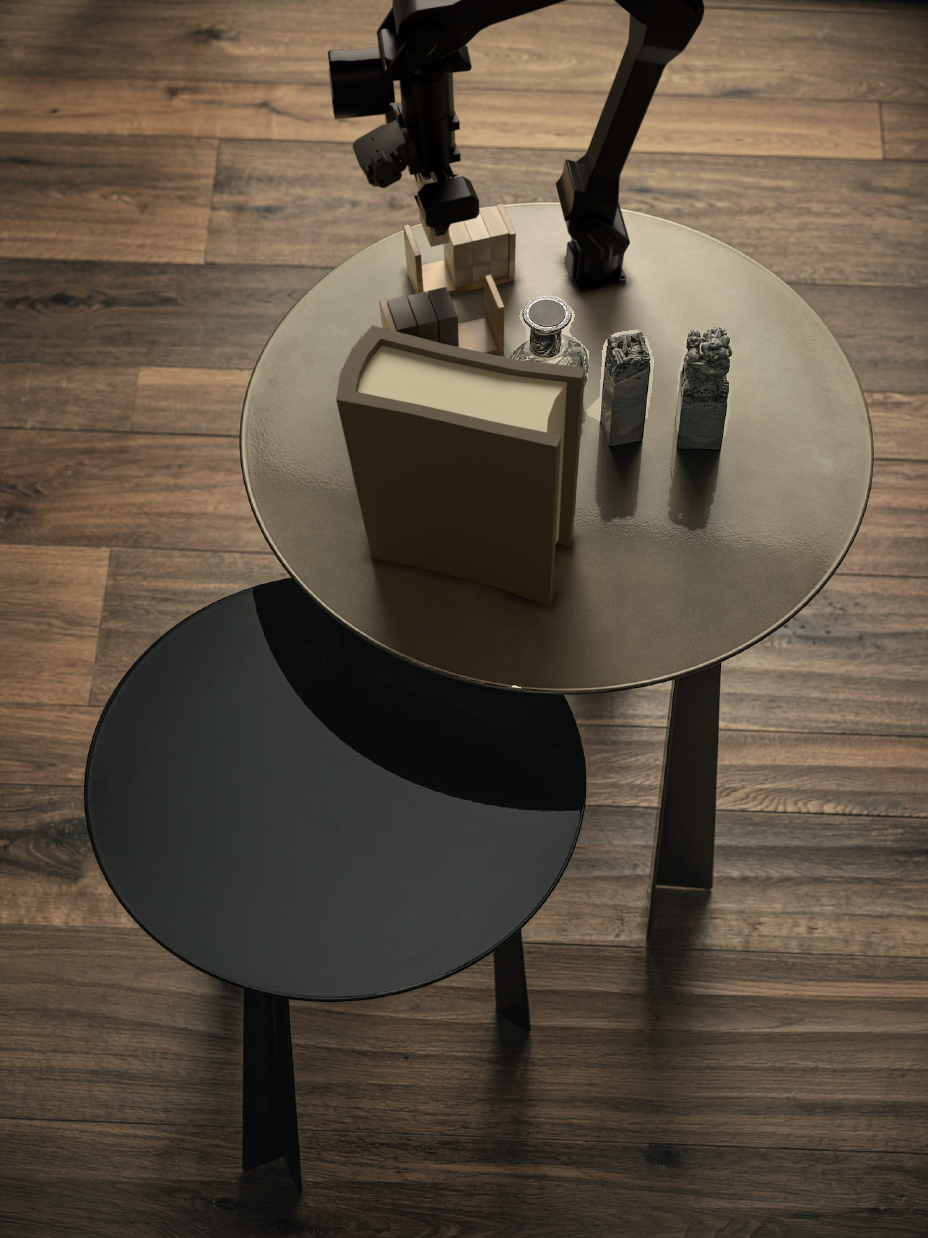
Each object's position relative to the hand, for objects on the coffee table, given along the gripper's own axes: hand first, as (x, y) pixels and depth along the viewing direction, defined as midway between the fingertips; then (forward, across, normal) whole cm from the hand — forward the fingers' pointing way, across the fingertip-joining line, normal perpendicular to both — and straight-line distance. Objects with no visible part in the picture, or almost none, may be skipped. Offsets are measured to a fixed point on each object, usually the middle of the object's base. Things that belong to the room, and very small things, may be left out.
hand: (434, 219), depth 132 cm
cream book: (+2, 0, 0) cm, 2 cm away
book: (+11, +39, -8) cm, 41 cm away
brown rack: (+11, -1, +3) cm, 12 cm away
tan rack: (+11, +10, -2) cm, 15 cm away
